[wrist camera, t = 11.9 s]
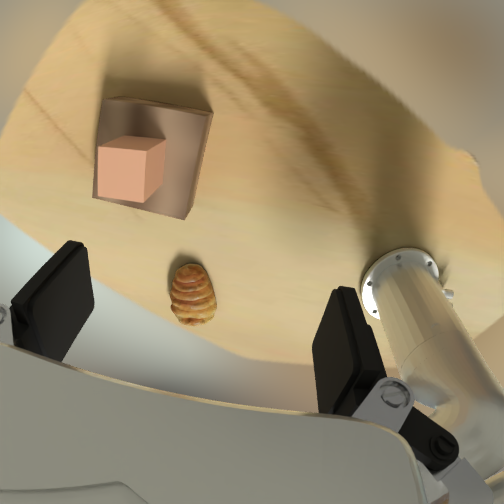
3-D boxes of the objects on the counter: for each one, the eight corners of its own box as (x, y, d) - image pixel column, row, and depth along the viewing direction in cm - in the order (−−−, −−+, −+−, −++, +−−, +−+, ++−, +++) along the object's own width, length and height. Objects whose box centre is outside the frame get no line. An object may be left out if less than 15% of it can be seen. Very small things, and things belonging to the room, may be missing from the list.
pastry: (168, 259, 45) (160, 274, 41) (215, 261, 44) (211, 276, 41) (176, 311, 49) (170, 327, 46) (218, 313, 49) (215, 330, 46)
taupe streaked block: (214, 112, 35) (206, 116, 30) (193, 204, 41) (184, 220, 36) (121, 96, 34) (102, 99, 29) (109, 184, 40) (92, 197, 35)
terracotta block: (166, 139, 32) (146, 151, 26) (162, 183, 34) (143, 202, 29) (124, 135, 31) (98, 146, 26) (122, 178, 34) (97, 196, 29)
